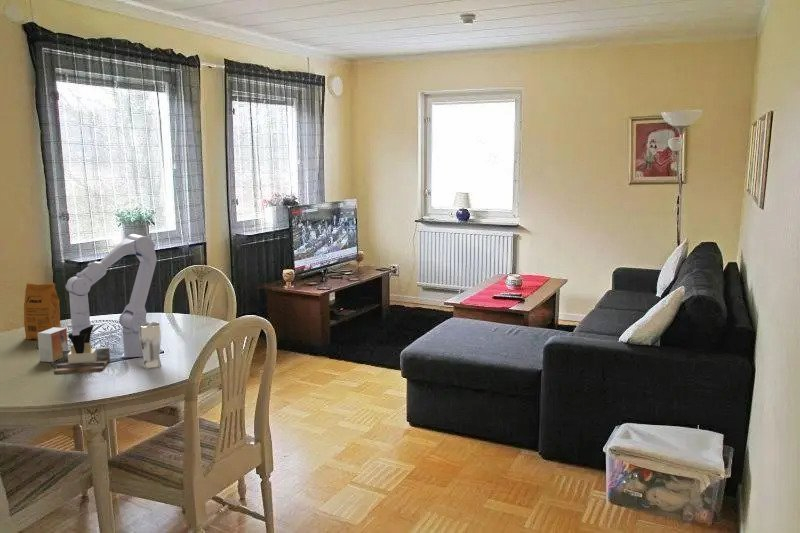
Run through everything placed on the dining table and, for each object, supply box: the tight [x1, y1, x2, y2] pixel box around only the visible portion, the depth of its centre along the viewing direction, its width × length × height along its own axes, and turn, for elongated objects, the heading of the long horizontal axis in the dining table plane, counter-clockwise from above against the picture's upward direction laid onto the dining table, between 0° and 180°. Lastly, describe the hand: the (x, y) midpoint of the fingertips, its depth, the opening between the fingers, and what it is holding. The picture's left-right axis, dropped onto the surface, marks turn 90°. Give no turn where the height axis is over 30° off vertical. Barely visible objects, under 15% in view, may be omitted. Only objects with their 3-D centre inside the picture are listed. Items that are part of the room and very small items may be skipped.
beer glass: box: [139, 321, 162, 370], centre depth 220 cm, size 7×7×15 cm
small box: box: [37, 327, 69, 363], centre depth 227 cm, size 8×6×10 cm
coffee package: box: [23, 282, 62, 341], centre depth 252 cm, size 10×12×22 cm
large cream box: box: [68, 342, 97, 363], centre depth 221 cm, size 8×5×7 cm, turn 103°
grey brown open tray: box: [53, 347, 111, 375], centre depth 220 cm, size 15×12×4 cm
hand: (82, 349), depth 220 cm, fingers open, 7 cm apart
